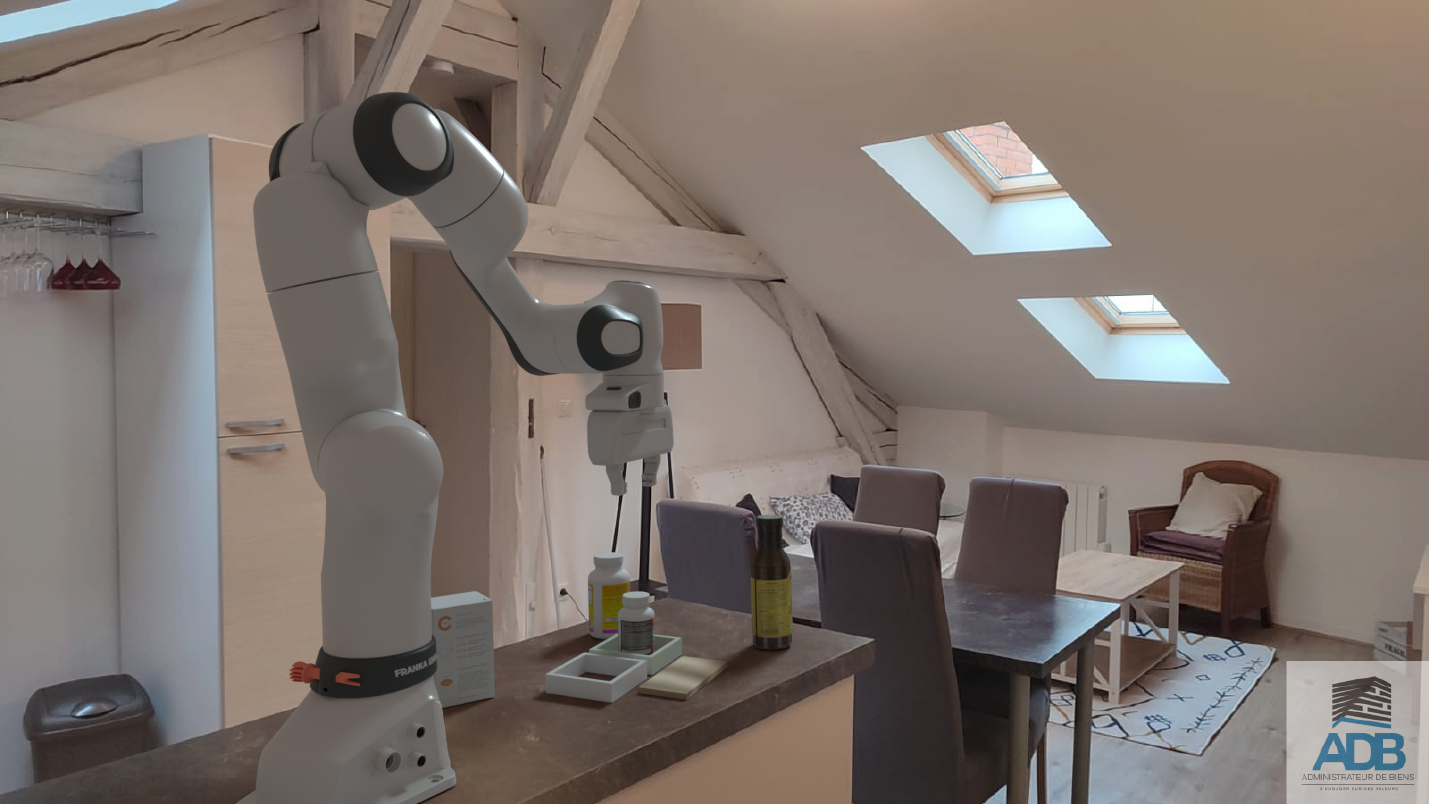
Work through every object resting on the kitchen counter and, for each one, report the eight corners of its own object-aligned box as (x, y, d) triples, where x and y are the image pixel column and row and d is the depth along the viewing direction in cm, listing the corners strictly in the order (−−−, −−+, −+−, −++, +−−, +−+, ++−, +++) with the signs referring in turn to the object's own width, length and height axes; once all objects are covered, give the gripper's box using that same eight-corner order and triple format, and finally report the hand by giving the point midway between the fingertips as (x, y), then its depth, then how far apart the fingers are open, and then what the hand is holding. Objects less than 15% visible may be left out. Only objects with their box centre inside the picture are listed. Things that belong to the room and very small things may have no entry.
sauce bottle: (800, 646, 147) (800, 517, 146) (768, 654, 144) (768, 521, 143) (774, 636, 153) (773, 511, 152) (742, 644, 149) (742, 515, 148)
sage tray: (652, 675, 135) (651, 657, 135) (589, 666, 139) (589, 649, 139) (682, 654, 144) (681, 637, 144) (622, 646, 148) (622, 630, 148)
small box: (479, 684, 132) (477, 589, 131) (495, 698, 127) (493, 599, 126) (419, 696, 127) (417, 598, 127) (434, 711, 122) (431, 609, 121)
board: (686, 699, 125) (686, 693, 125) (638, 692, 128) (638, 687, 128) (727, 667, 138) (727, 661, 138) (682, 661, 141) (682, 656, 141)
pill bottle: (661, 662, 141) (661, 595, 140) (629, 669, 138) (628, 601, 137) (643, 652, 145) (642, 588, 145) (611, 659, 142) (610, 593, 142)
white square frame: (612, 702, 124) (611, 683, 124) (545, 692, 128) (545, 674, 128) (647, 678, 134) (647, 660, 133) (584, 669, 137) (583, 652, 137)
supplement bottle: (639, 632, 156) (638, 553, 155) (613, 643, 150) (612, 561, 149) (606, 626, 159) (605, 549, 158) (580, 636, 154) (578, 556, 153)
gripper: (646, 391, 150) (647, 480, 151) (578, 398, 131) (579, 499, 132) (683, 392, 148) (684, 482, 149) (619, 398, 129) (620, 501, 130)
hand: (634, 490), depth 140 cm, fingers open, 8 cm apart
